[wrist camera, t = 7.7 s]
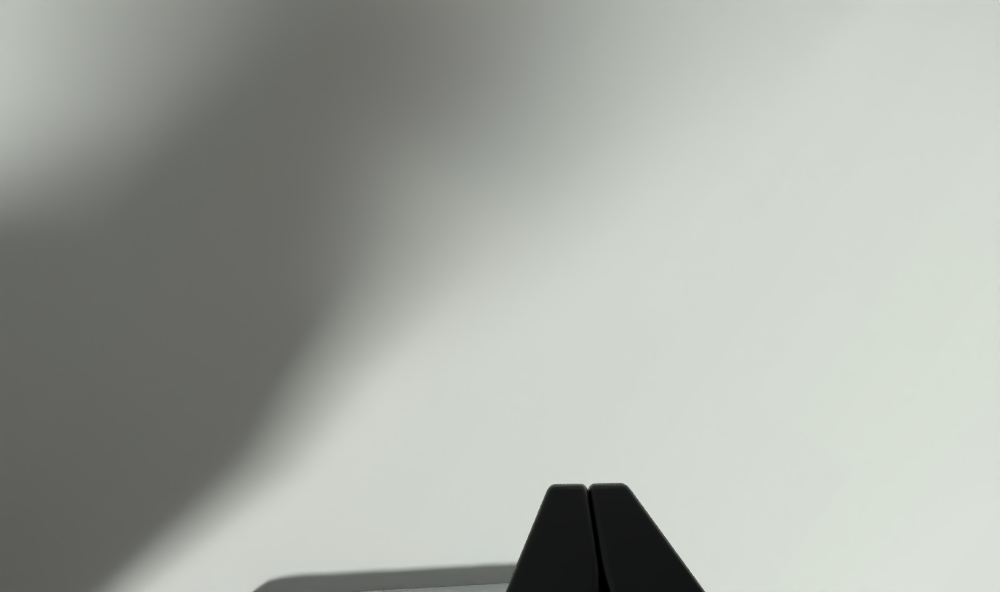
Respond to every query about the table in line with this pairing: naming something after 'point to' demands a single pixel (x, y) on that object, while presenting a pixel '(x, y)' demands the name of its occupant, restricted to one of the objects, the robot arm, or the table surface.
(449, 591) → the hard drive
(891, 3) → the table surface
